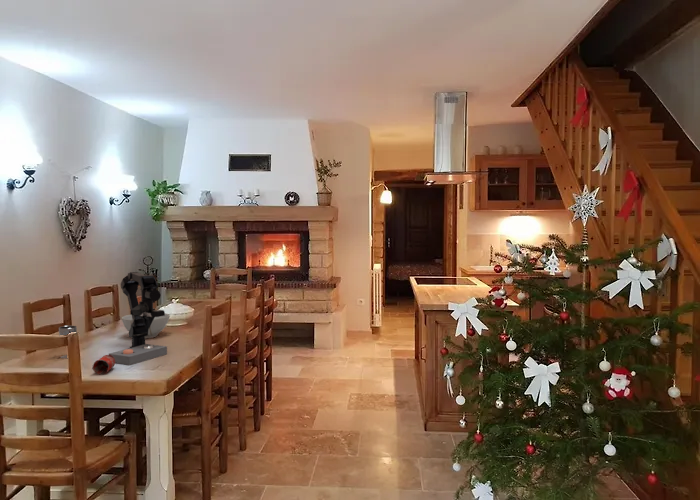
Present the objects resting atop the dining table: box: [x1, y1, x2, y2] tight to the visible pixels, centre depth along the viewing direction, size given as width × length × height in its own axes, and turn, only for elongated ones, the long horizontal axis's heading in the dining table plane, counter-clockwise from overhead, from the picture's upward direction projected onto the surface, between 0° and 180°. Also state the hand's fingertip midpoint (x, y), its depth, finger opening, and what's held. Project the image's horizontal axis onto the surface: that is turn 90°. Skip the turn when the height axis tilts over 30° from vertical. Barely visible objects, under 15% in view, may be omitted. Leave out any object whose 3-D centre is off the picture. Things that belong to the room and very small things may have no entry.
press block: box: [108, 343, 168, 366], centre depth 266 cm, size 14×24×4 cm, turn 155°
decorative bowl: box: [121, 313, 171, 339], centre depth 318 cm, size 27×27×12 cm
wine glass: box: [58, 325, 78, 359], centre depth 268 cm, size 8×8×15 cm
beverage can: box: [91, 354, 116, 376], centre depth 242 cm, size 7×12×7 cm, turn 7°
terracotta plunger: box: [122, 348, 133, 354], centre depth 260 cm, size 4×4×4 cm
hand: (147, 328), depth 279 cm, fingers closed
